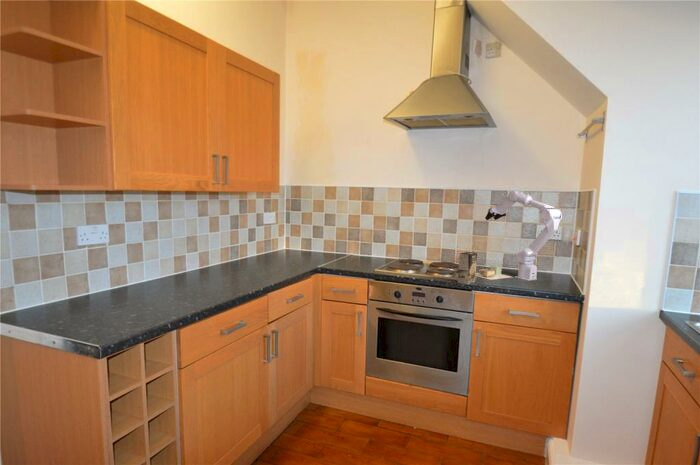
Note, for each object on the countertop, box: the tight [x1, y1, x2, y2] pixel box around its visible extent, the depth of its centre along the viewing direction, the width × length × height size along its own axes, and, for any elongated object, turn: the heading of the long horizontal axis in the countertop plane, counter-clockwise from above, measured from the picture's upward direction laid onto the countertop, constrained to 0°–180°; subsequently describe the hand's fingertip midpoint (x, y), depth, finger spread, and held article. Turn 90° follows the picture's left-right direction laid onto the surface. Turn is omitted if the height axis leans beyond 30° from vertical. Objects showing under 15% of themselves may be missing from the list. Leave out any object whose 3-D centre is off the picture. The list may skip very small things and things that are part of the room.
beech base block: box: [478, 268, 495, 279], centre depth 234 cm, size 6×6×4 cm
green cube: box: [489, 265, 503, 275], centre depth 242 cm, size 4×4×4 cm
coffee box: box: [457, 251, 478, 286], centre depth 218 cm, size 9×6×16 cm
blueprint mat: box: [476, 272, 512, 281], centre depth 237 cm, size 16×19×1 cm
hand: (490, 218), depth 254 cm, fingers open, 7 cm apart
